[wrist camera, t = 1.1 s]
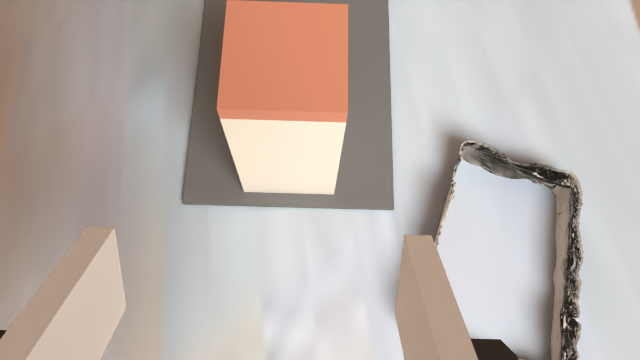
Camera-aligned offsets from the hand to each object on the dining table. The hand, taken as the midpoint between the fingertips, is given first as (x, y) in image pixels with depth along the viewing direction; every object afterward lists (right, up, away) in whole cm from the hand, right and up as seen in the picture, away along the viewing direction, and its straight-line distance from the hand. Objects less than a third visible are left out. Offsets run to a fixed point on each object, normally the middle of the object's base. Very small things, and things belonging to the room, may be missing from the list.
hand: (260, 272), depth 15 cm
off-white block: (0, +5, +22) cm, 22 cm away
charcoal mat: (0, +10, +24) cm, 26 cm away
